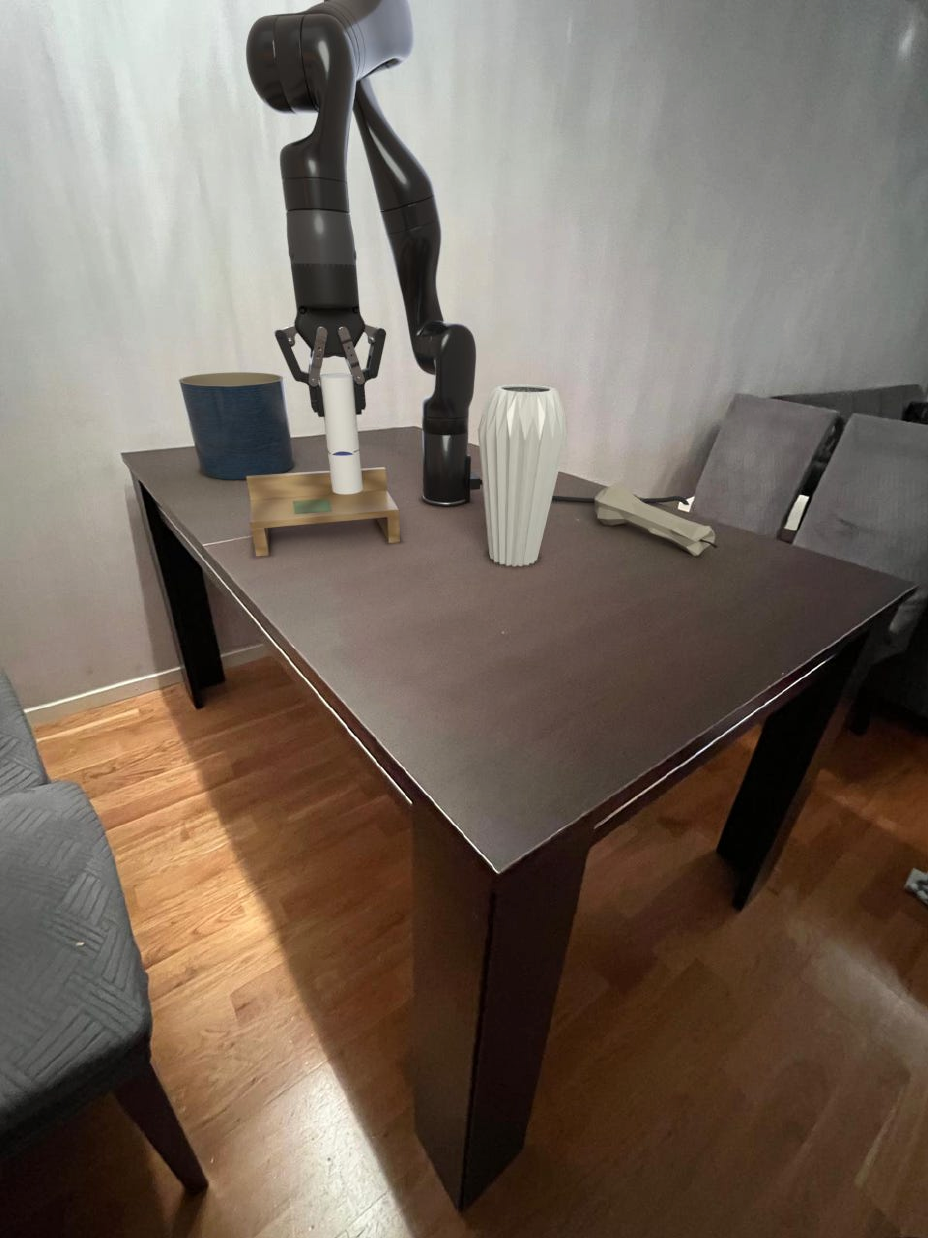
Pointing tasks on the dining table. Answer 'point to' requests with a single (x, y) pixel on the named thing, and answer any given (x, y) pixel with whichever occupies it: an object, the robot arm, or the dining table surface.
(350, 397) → the tube
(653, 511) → the faceted club
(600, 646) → the dining table surface
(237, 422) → the planter
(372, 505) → the shelf
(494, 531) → the vase
